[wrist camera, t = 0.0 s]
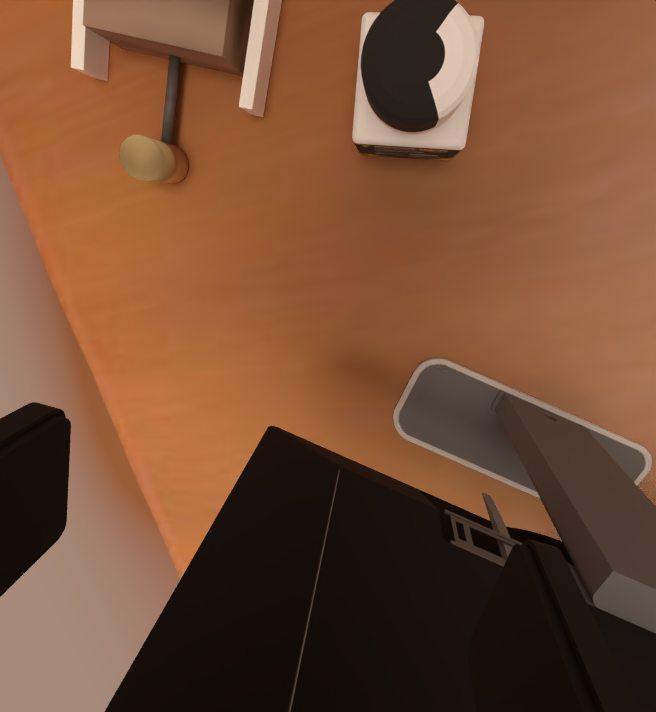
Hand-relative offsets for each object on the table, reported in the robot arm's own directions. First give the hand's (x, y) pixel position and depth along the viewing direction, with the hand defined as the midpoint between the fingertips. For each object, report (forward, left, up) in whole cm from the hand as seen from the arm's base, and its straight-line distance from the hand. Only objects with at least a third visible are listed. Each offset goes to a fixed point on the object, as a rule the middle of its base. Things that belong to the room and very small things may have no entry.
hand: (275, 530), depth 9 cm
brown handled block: (-14, -18, -32) cm, 39 cm away
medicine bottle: (-14, 0, -31) cm, 34 cm away
